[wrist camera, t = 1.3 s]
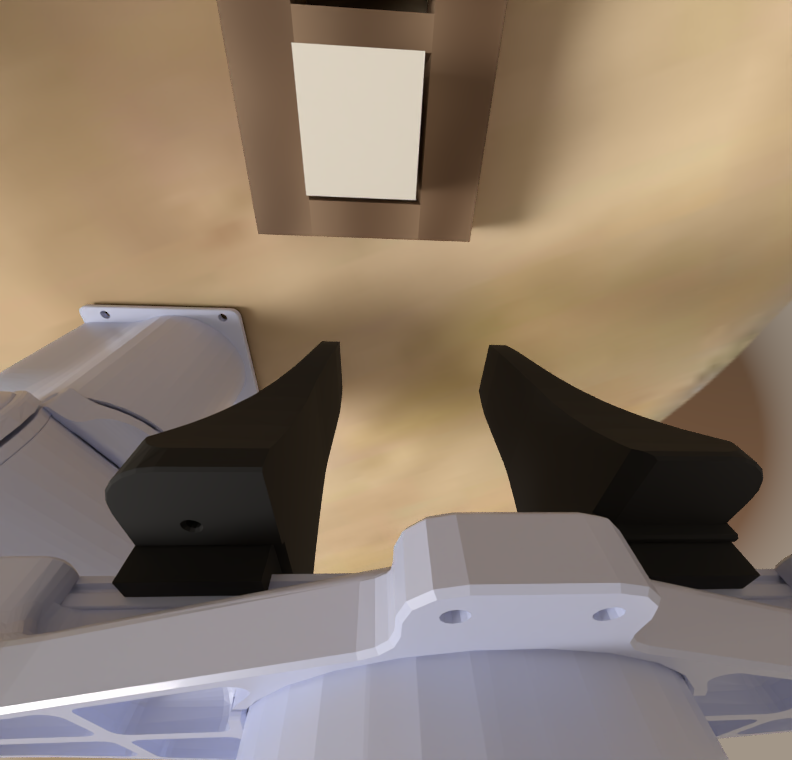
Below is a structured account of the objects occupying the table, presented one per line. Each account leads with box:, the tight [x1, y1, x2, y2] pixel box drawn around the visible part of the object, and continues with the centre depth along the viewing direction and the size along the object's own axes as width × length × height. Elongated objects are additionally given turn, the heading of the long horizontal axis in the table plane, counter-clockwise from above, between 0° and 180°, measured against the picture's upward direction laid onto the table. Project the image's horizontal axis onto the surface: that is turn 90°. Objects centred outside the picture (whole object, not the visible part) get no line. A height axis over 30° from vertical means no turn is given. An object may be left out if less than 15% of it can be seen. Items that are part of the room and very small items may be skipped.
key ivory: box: [291, 42, 425, 200], centre depth 13 cm, size 4×4×4 cm
